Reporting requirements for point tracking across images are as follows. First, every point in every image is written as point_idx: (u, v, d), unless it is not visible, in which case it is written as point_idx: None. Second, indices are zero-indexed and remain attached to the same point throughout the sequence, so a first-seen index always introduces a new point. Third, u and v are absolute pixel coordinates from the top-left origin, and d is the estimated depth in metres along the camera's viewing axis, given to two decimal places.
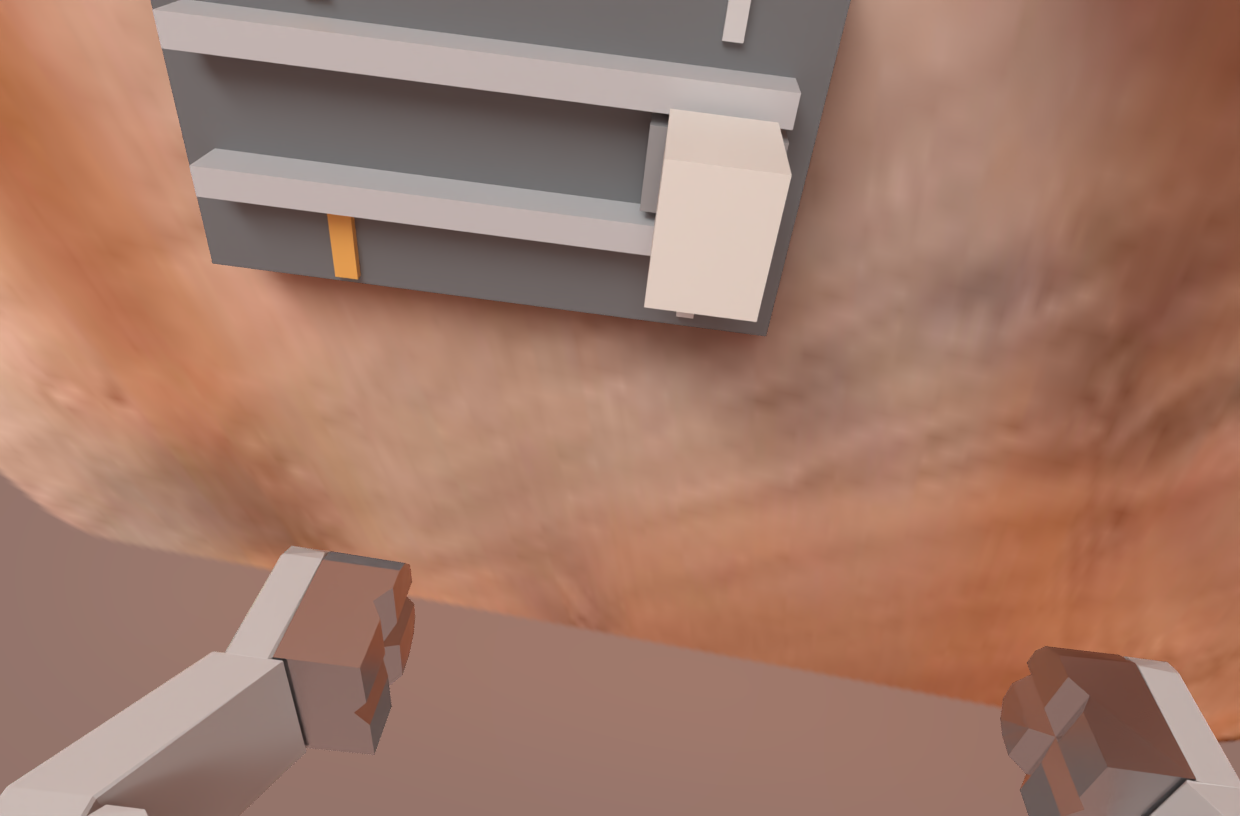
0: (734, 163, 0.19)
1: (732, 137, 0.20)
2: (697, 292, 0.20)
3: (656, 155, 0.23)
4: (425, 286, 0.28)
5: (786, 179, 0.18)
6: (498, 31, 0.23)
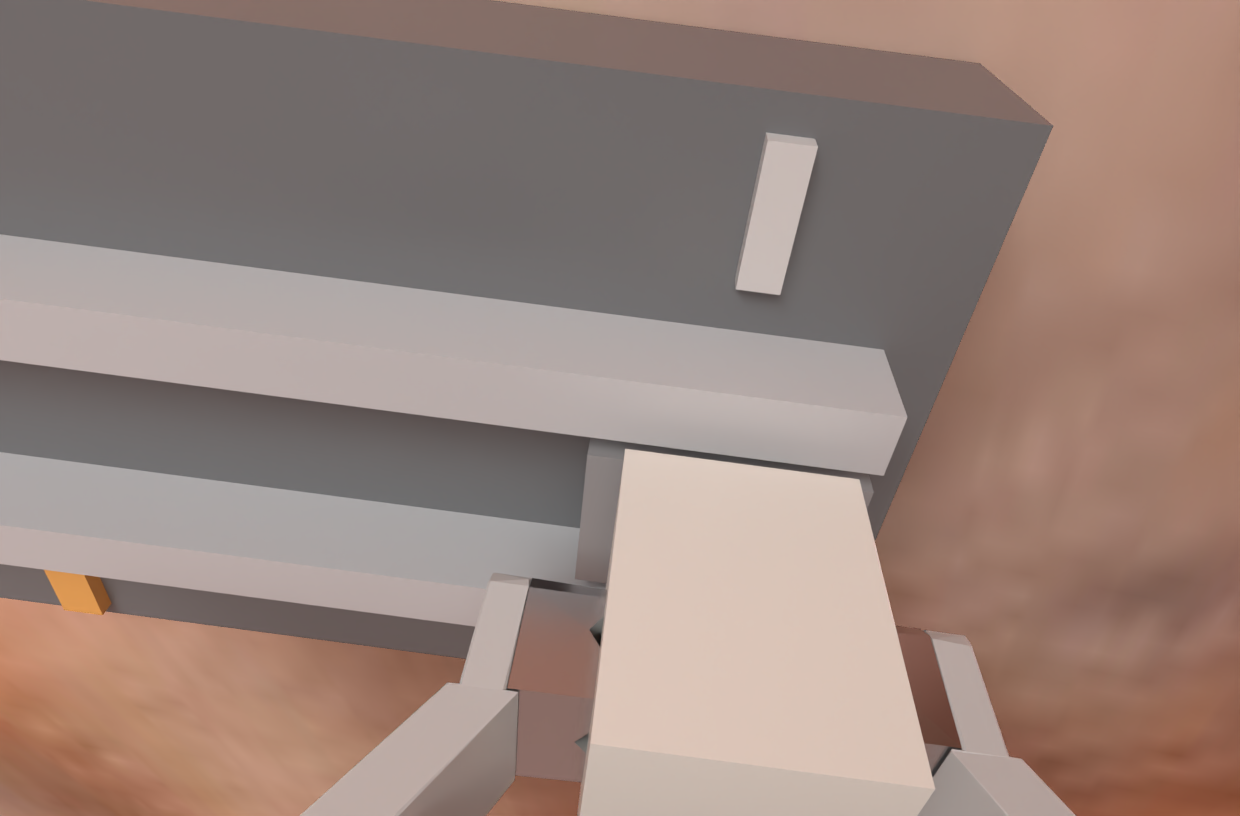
0: (780, 737, 0.07)
1: (766, 573, 0.09)
2: None
3: (602, 501, 0.11)
4: (222, 621, 0.16)
5: (919, 794, 0.07)
6: (279, 257, 0.11)
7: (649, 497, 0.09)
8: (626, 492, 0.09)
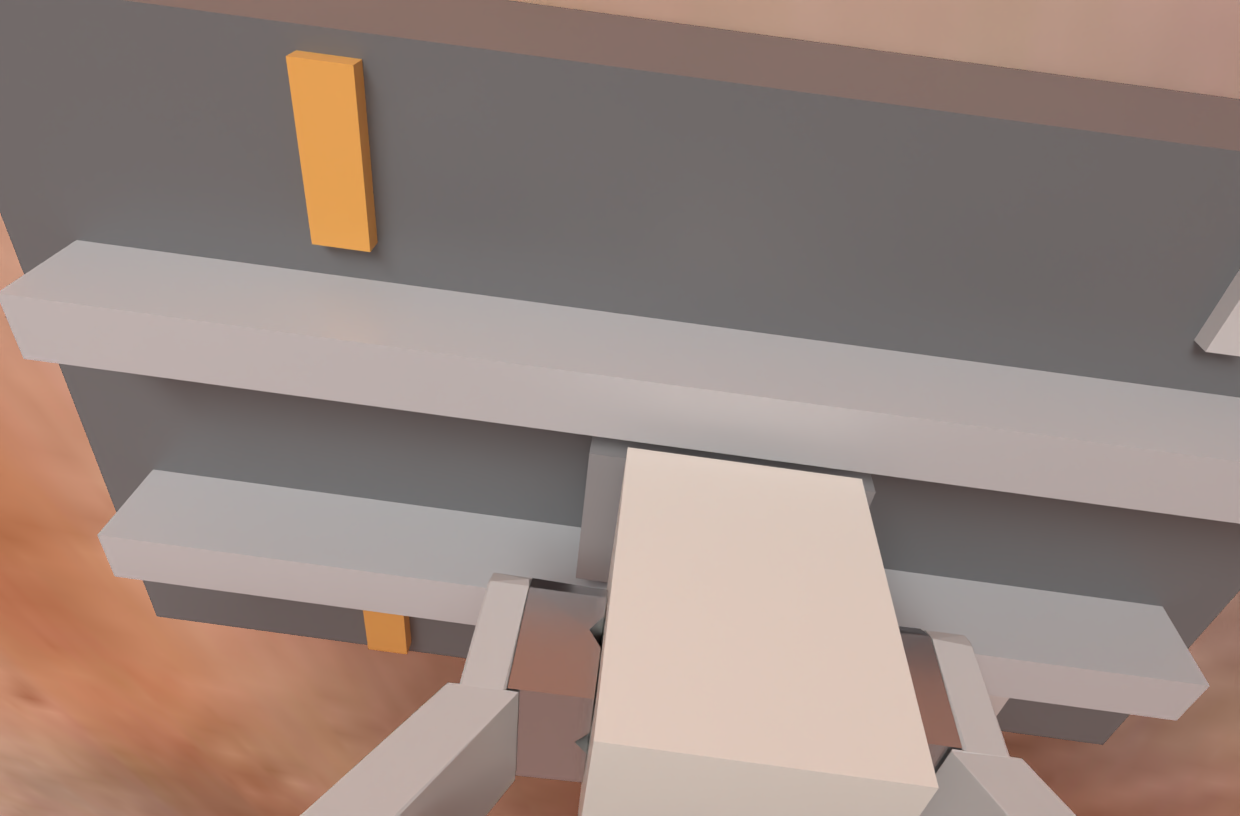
0: (782, 735, 0.07)
1: (768, 571, 0.09)
2: None
3: (604, 500, 0.11)
4: None
5: (923, 792, 0.07)
6: (723, 313, 0.11)
7: (652, 495, 0.09)
8: (629, 490, 0.09)
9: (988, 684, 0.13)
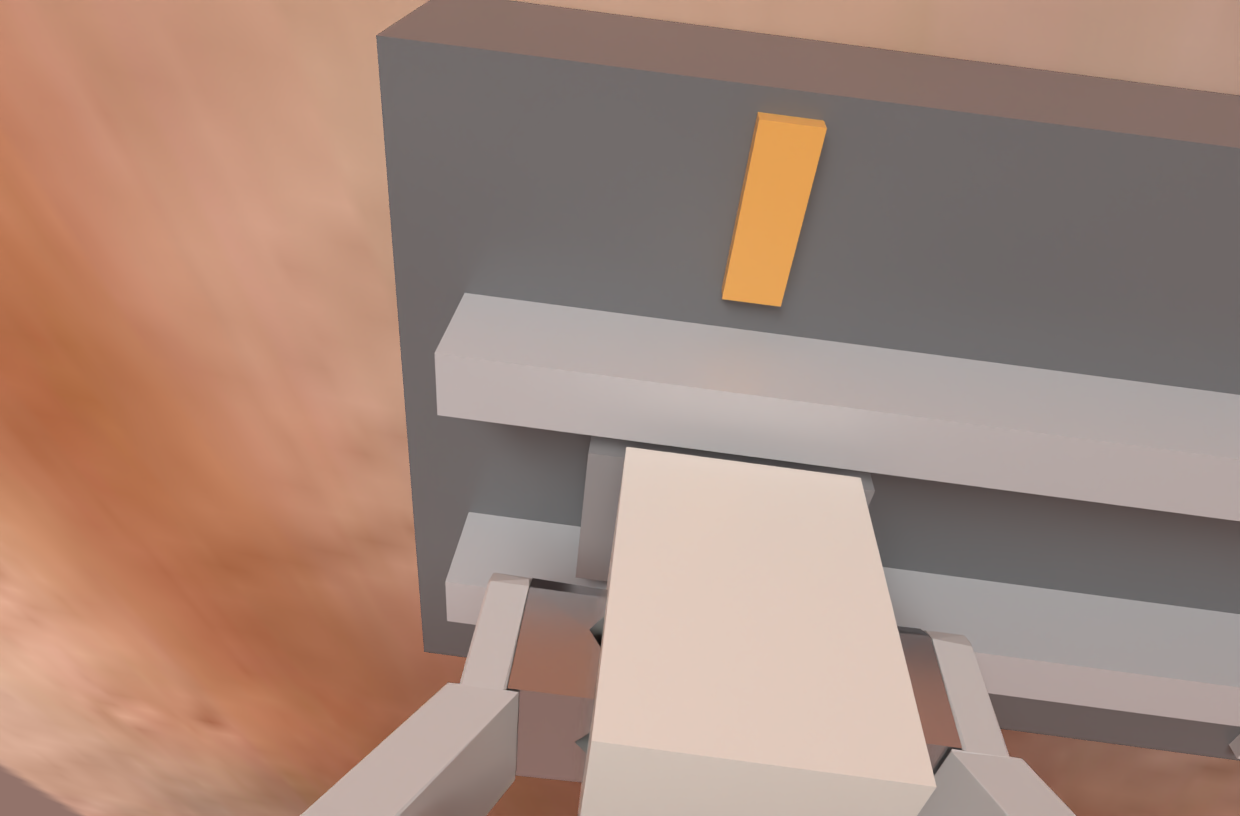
0: (781, 735, 0.07)
1: (766, 571, 0.09)
2: None
3: (603, 499, 0.11)
4: None
5: (921, 791, 0.07)
6: (1117, 364, 0.11)
7: (650, 495, 0.09)
8: (627, 490, 0.09)
9: None
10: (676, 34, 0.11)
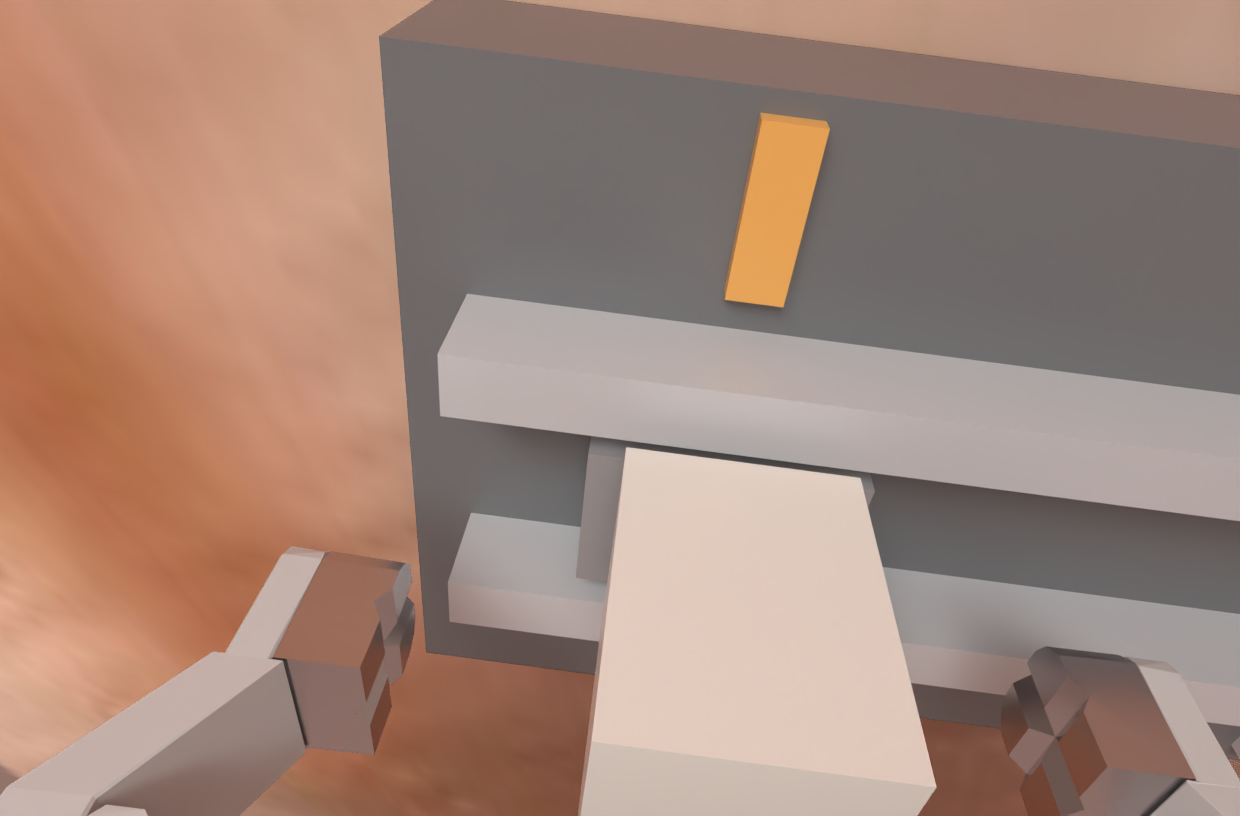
0: (780, 736, 0.07)
1: (766, 571, 0.09)
2: None
3: (603, 500, 0.11)
4: None
5: (920, 792, 0.07)
6: (1120, 365, 0.11)
7: (650, 495, 0.09)
8: (627, 490, 0.09)
9: None
10: (678, 35, 0.11)
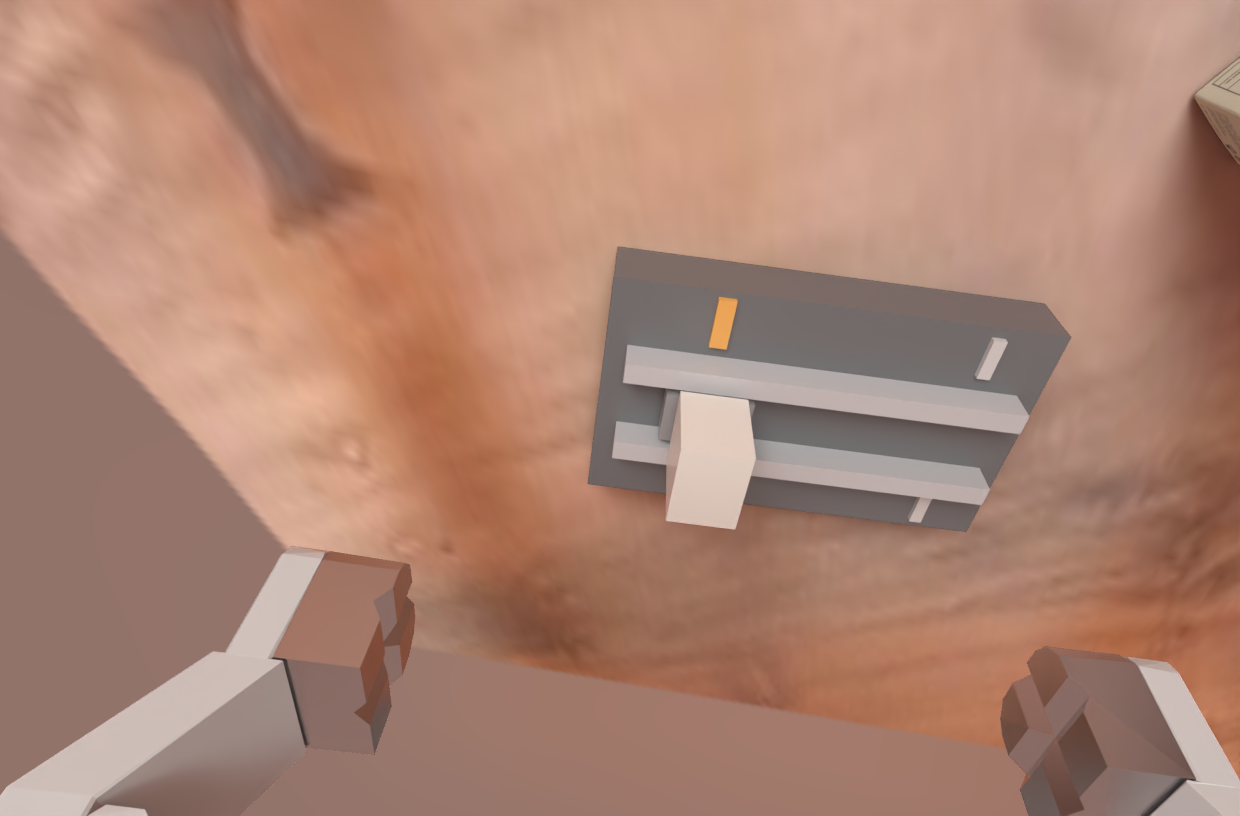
0: (722, 449, 0.31)
1: (720, 420, 0.33)
2: (699, 513, 0.33)
3: (670, 410, 0.36)
4: None
5: (752, 460, 0.31)
6: (831, 367, 0.36)
7: (688, 403, 0.34)
8: (682, 401, 0.34)
9: (916, 492, 0.38)
10: (694, 264, 0.35)
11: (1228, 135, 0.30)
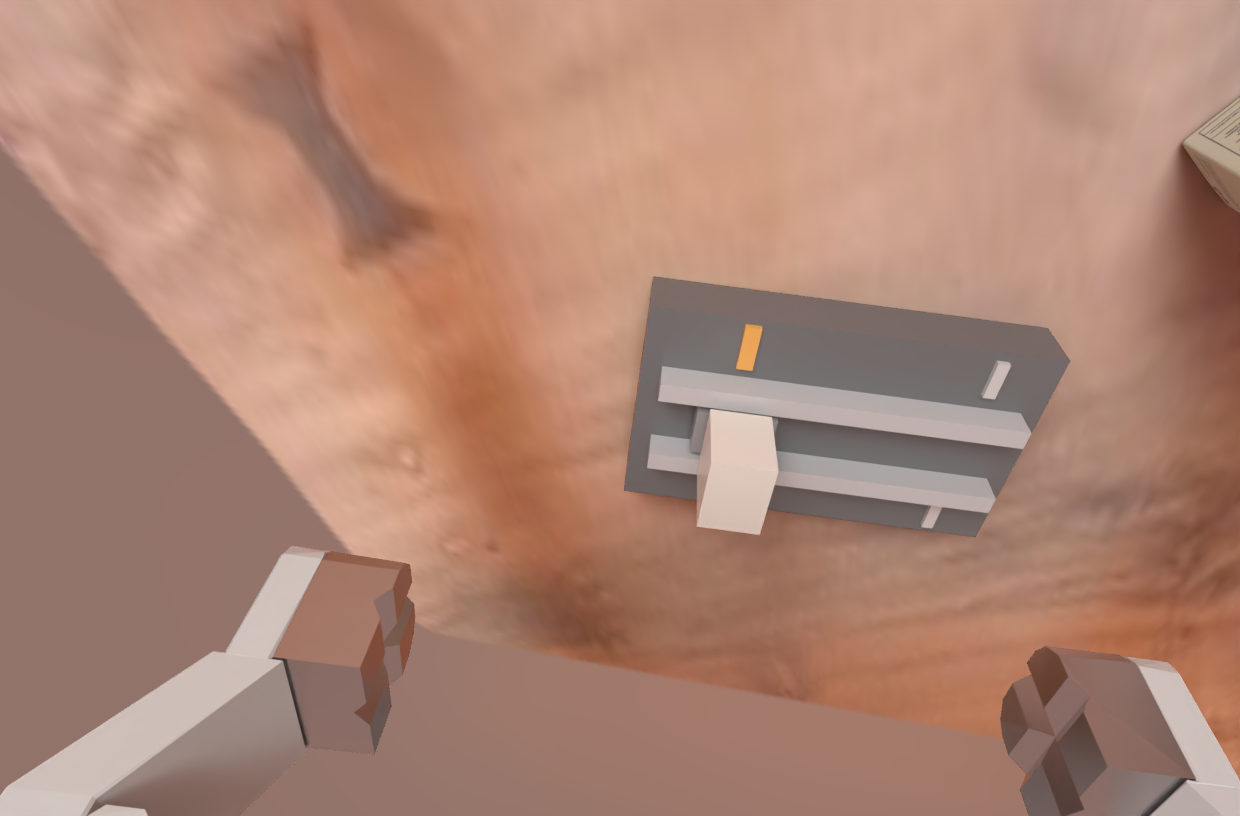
0: (748, 463, 0.35)
1: (746, 436, 0.36)
2: (726, 520, 0.37)
3: (700, 425, 0.39)
4: None
5: (775, 473, 0.35)
6: (848, 386, 0.39)
7: (717, 420, 0.37)
8: (712, 419, 0.37)
9: (927, 501, 0.41)
10: (723, 293, 0.39)
11: (1213, 179, 0.33)
